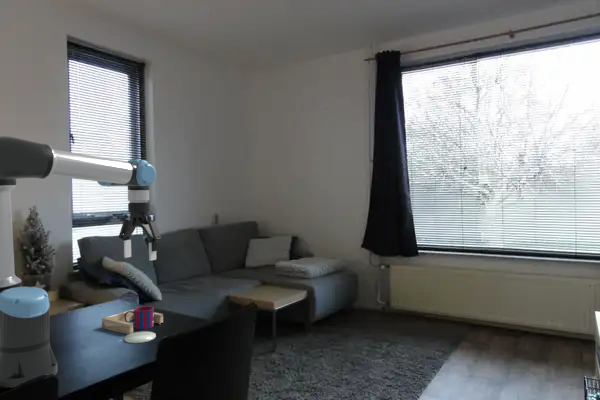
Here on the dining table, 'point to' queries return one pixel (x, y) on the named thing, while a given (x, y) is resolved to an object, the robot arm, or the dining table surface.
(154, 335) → the white round flat disc
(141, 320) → the mug
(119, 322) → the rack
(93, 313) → the dining table surface
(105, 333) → the dining table surface
